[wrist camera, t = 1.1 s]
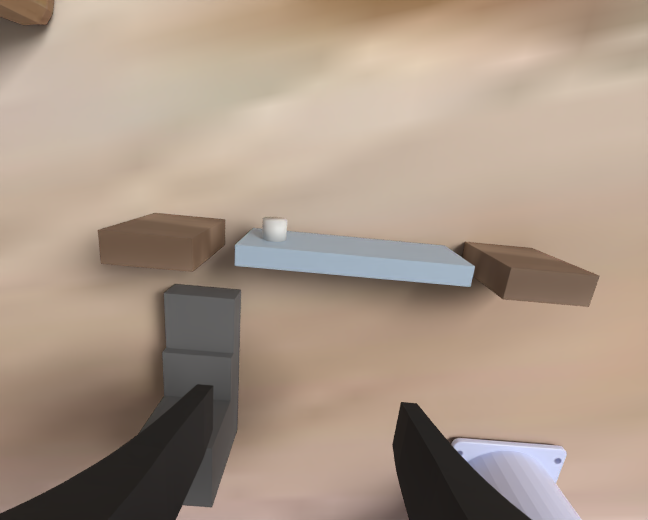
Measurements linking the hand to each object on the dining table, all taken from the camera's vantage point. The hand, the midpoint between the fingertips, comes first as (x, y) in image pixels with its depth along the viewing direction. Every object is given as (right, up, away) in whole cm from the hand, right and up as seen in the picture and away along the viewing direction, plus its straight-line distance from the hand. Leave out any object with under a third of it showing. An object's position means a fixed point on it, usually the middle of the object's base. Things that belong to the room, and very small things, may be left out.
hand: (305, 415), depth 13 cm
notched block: (-7, -1, +9) cm, 12 cm away
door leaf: (+2, +7, +6) cm, 10 cm away
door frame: (+2, +7, +7) cm, 10 cm away
